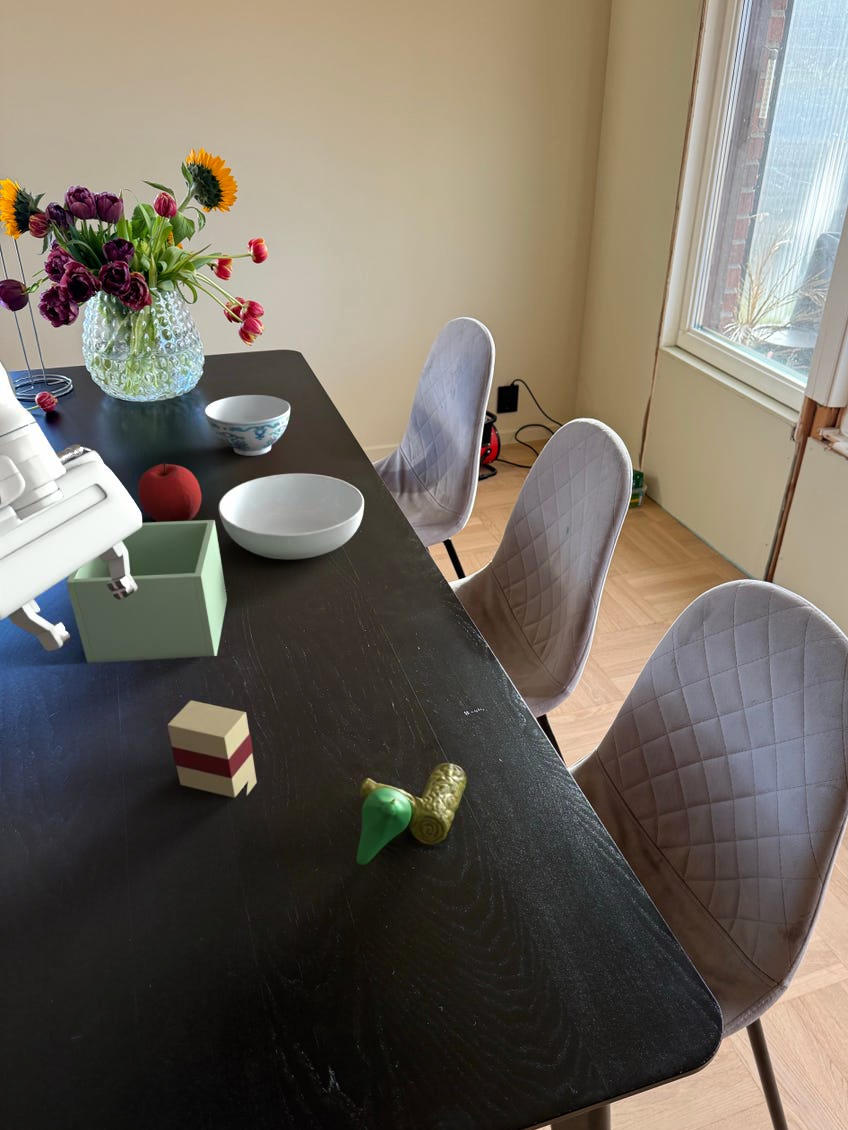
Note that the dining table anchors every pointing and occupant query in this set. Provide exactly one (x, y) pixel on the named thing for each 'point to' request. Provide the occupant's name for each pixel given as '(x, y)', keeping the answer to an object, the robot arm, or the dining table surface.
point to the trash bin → (154, 597)
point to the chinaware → (249, 422)
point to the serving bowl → (292, 515)
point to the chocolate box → (212, 749)
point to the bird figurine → (409, 810)
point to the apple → (169, 493)
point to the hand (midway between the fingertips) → (95, 619)
